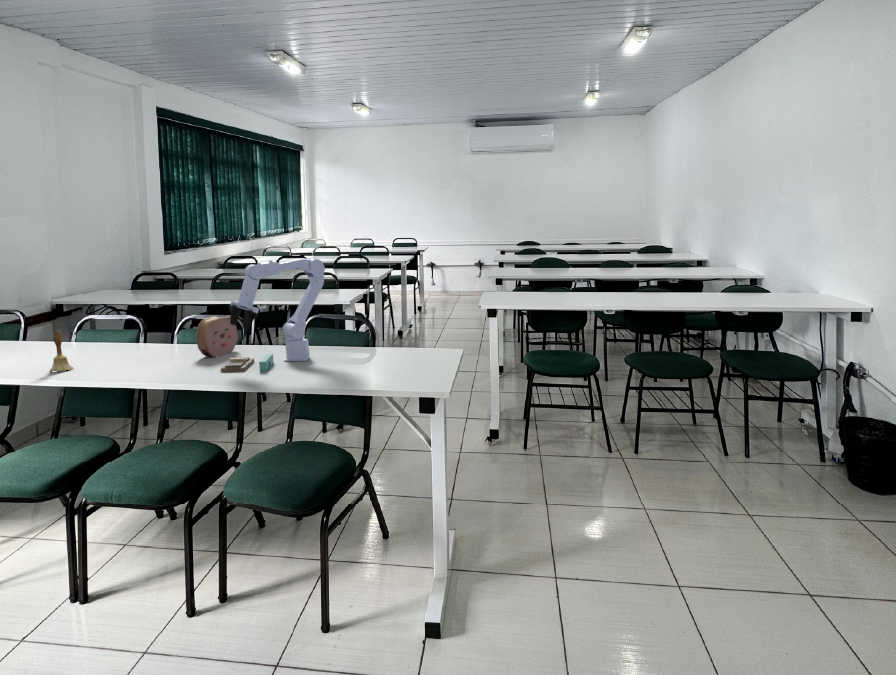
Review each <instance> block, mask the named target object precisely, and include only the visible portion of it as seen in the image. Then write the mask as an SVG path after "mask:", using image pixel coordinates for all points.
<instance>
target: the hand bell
mask: <svg viewBox="0 0 896 675" xmlns="http://www.w3.org/2000/svg"><path fill="white" fill-rule="evenodd" d="M53 335H54V336H53V342H54V345H55V346H56V356H54V357H53V363H52V367H51V368H50V369H49V371H65V372H67V371H66V370H70V371H72V370H71V369H73V368H74V367H73V366H72V365H71V364H70V363H69V361H68V358H67V356H66V355H63V351H62V342H63V341H62V335H61V333H60V331H59V330H55V331H54V334H53ZM73 370H74V369H73Z"/></svg>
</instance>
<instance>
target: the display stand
mask: <svg viewBox="0 0 896 675" xmlns="http://www.w3.org/2000/svg"><path fill="white" fill-rule="evenodd" d="M228 360H229V361H228V362H226V363H225V364H224V365H223V366H221V367H220V373H230V372H231V373H234V372H235V373H236V372H238V373H239V371H243V372H245V371H247V370H248V369H249V367H251V366H252V365H253V364H254V363H255V358H250V356H246V357H244V356H243V357H240V356H239V357H229V359H228ZM251 364H252V365H251Z"/></svg>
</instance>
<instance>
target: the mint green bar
mask: <svg viewBox="0 0 896 675" xmlns="http://www.w3.org/2000/svg"><path fill="white" fill-rule="evenodd" d="M274 363H275V361H274V354H273V353H267V354H266V355H264V357H262V359H260V360H259V362H258V364H259V367H258V368H259V372H260V371H266V372H267V371H268V370H269V369H270V367H272V366H273V365H274ZM272 364H273V365H272ZM271 365H272V366H271Z"/></svg>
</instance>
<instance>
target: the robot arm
mask: <svg viewBox="0 0 896 675" xmlns="http://www.w3.org/2000/svg"><path fill="white" fill-rule="evenodd" d="M256 263H257V264H249V265H247V266H246V267H245V269H243V273H244V278H243V282H242V286H241V290H240V293H239V297H238V301H235V300H231V301H230V305H229V306H228V310H229V313H230V314H229V316H230V324H232V325H236V326H237V323H238V320H239V317H240V315H241V314H242V312H243V311H244V312H243V313H244V314H243V315H244V319H243V323H242V324H243V325H242V329H245V330H249V328H250V327H251V325H252V323H253V321H254V320H255V319H256V318H257V317H258V316H259V314H258V313H259V310H260V308H258V307H255V306H254V303H255V302H254V301H255V298H256V294H257V290H258V286H259V282H260V280H261V279H262V278H268V277H273V276H277V275H279V274H280V272H282V271H283V272H284V271H287V270H288V271H289V270H295V269H299V270H302V271H303V273H304V274H305V275H306V276H307V279H308V281H309V284H308V286H307V288H306V289H305V292H304V294H303V296H302V298H301V300H300V301H299V303H298V306H297V308H296V310H295V312H294V313H293V315H292V316H291V317H290V318H289V319H288V321H287V322H285V323H284V324H283V325H282V333H283V335H284V336H285V337H284V338H285V341H284V342H285V358H284V360H283V361H284V362H305V361H308V359H310V348H309V346H310V345H309V339H308V338H303V337H305V333H306V332H305V331H306V327H307V321H306V320H307V318H308V316H309V314H310V312H311V310H312V308H313V307H314V304H315V302H316V300H317V297H318V296H319V294H320V292H321V290H322V288H323V286H324V284H325V280H324V279H325V270H326V267H325V265H324V263H323V261H322V260H320V259H318V258H297V259H292V260H288V261H284V262H277V261H275V260H272V259H269V260H268V261H267V262H262V263H261V262H256Z"/></svg>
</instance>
